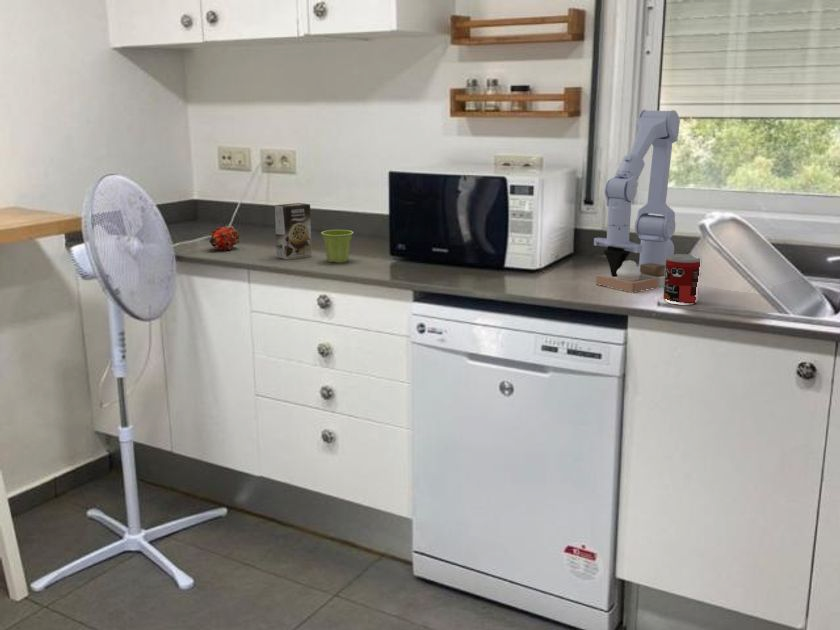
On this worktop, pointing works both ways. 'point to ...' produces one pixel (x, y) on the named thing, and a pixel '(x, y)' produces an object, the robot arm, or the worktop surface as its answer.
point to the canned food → (681, 278)
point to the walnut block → (652, 269)
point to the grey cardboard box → (293, 230)
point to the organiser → (641, 284)
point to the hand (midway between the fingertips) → (615, 276)
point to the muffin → (628, 271)
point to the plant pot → (337, 244)
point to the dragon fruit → (224, 238)
